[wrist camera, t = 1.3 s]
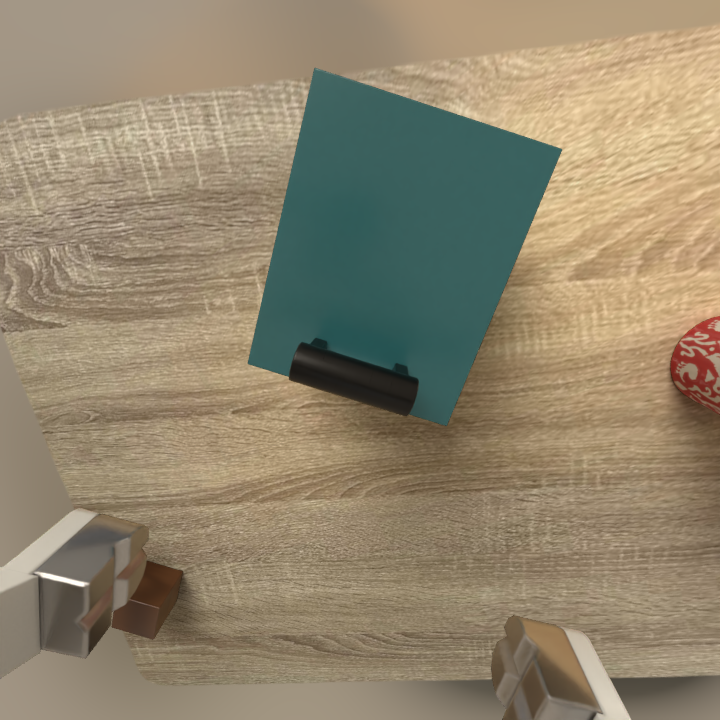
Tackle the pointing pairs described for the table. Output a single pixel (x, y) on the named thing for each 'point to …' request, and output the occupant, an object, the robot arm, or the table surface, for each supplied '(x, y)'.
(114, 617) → the block
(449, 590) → the table surface
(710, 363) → the mug
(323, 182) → the lid
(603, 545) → the table surface
